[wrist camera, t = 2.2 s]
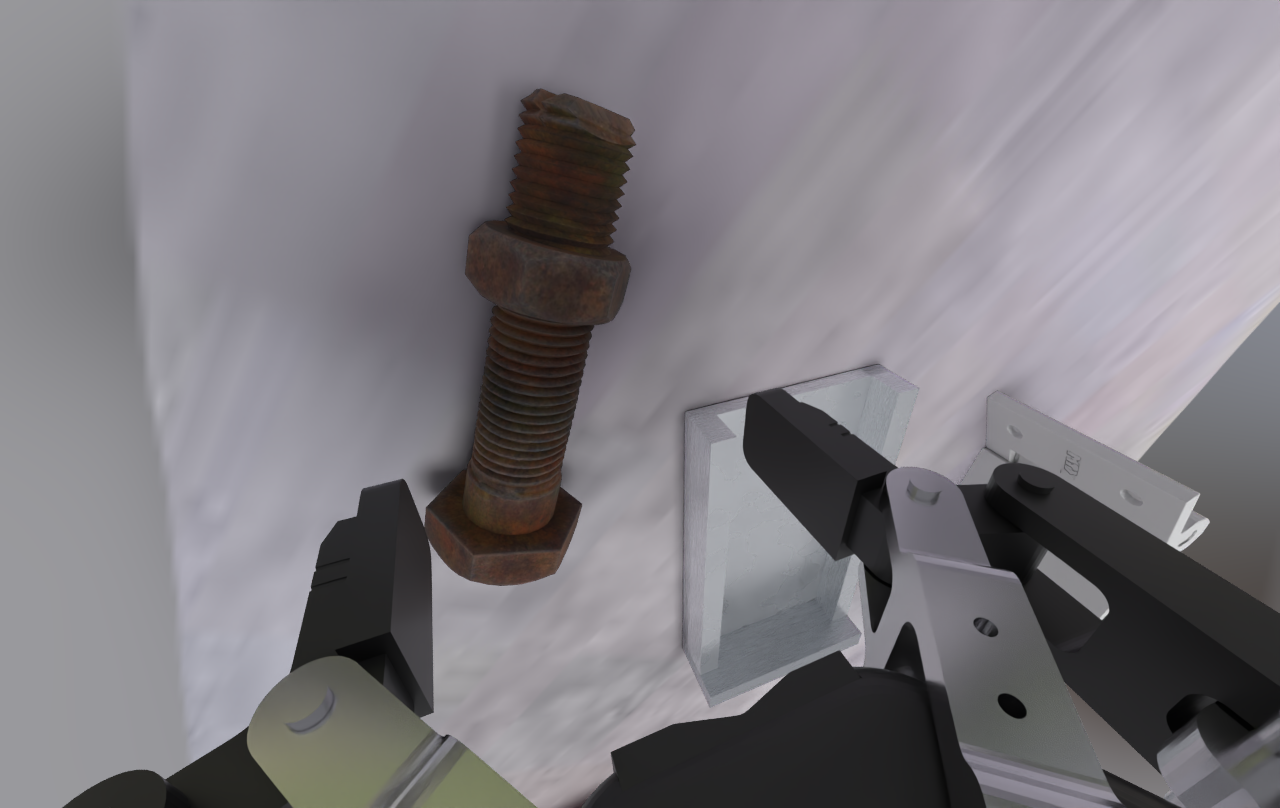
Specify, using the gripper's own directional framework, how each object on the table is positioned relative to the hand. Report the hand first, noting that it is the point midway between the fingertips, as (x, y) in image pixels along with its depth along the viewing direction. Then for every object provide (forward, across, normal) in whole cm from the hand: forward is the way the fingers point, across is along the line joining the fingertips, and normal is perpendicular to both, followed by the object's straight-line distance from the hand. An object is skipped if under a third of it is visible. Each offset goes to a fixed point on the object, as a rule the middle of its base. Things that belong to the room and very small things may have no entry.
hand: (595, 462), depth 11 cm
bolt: (+8, 0, 0) cm, 9 cm away
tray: (+8, -12, +14) cm, 20 cm away
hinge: (+8, -29, +16) cm, 34 cm away
